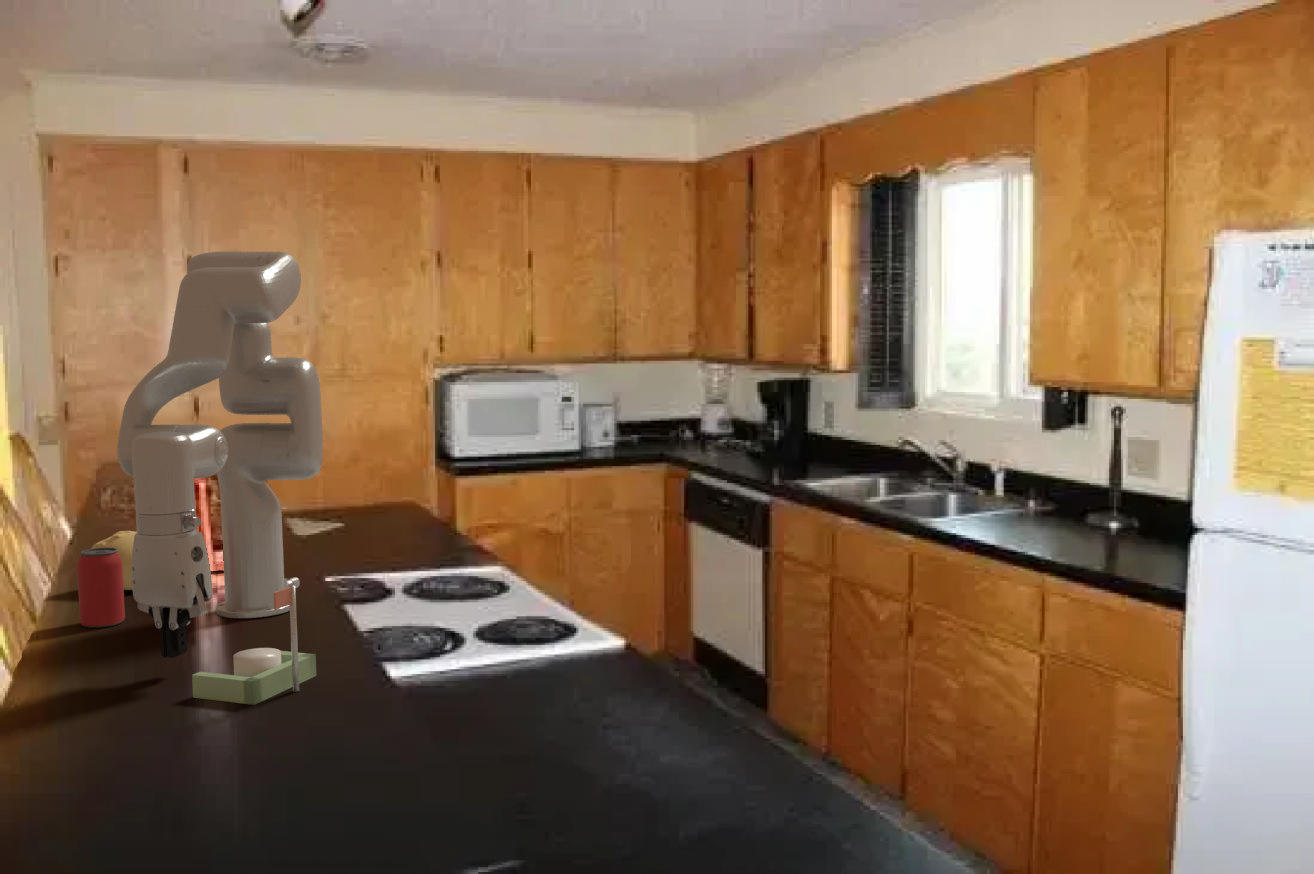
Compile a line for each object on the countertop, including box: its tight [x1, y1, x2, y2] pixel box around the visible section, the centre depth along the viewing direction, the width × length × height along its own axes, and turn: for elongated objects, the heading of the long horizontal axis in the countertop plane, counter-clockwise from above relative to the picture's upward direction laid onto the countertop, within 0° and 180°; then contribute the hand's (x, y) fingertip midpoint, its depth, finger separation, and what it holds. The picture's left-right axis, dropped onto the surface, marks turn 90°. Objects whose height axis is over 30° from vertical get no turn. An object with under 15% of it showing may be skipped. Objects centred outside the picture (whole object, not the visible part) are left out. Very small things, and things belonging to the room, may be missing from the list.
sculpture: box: [90, 530, 137, 591], centre depth 215 cm, size 12×12×11 cm
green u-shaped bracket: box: [191, 585, 317, 706], centre depth 155 cm, size 13×11×14 cm
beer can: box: [76, 548, 126, 629], centre depth 189 cm, size 7×7×12 cm
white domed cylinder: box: [232, 647, 282, 677], centre depth 156 cm, size 6×6×4 cm
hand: (174, 654), depth 161 cm, fingers closed
